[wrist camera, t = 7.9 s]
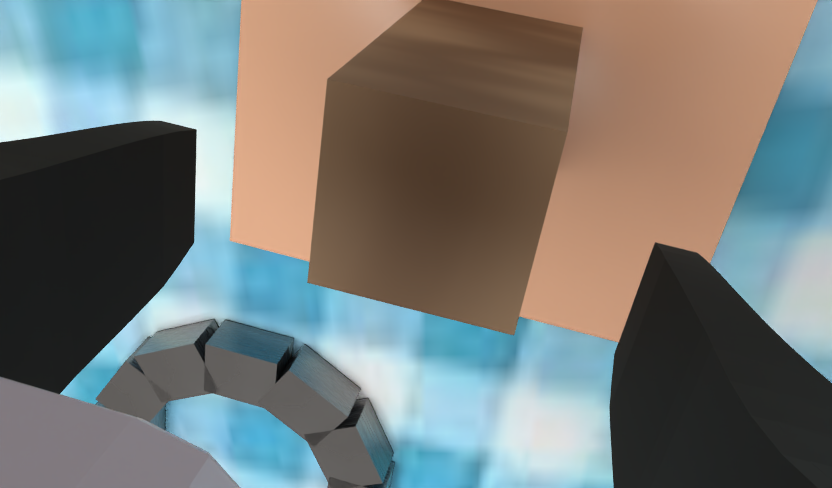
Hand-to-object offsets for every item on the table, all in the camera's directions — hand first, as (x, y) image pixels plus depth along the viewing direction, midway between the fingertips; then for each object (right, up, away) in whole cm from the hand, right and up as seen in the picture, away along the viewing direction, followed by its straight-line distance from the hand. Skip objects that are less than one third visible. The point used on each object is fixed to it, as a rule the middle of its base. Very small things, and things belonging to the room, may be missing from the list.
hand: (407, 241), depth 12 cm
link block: (+2, +4, +9) cm, 10 cm away
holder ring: (-6, -8, +17) cm, 20 cm away
